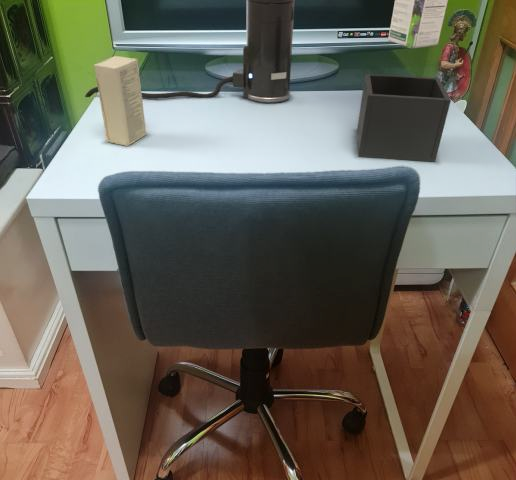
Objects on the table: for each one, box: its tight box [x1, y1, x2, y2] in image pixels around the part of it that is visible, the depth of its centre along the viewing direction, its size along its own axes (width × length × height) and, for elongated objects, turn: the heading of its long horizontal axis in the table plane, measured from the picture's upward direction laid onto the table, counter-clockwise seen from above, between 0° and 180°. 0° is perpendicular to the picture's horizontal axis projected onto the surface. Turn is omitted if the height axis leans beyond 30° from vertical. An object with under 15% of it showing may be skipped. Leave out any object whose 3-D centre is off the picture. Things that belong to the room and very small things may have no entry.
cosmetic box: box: [93, 55, 147, 147], centre depth 84 cm, size 6×4×12 cm
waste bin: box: [356, 73, 452, 163], centre depth 86 cm, size 13×13×10 cm
